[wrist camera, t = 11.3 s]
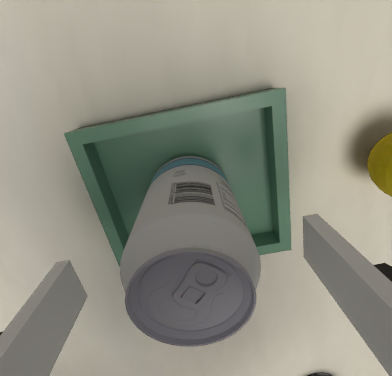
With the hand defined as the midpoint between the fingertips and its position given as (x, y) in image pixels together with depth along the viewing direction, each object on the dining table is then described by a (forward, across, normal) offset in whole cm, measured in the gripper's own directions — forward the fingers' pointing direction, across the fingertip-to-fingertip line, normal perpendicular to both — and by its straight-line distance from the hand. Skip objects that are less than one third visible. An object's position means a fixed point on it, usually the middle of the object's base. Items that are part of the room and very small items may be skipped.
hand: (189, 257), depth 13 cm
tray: (+9, 0, 0) cm, 9 cm away
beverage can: (+9, 0, 0) cm, 9 cm away
